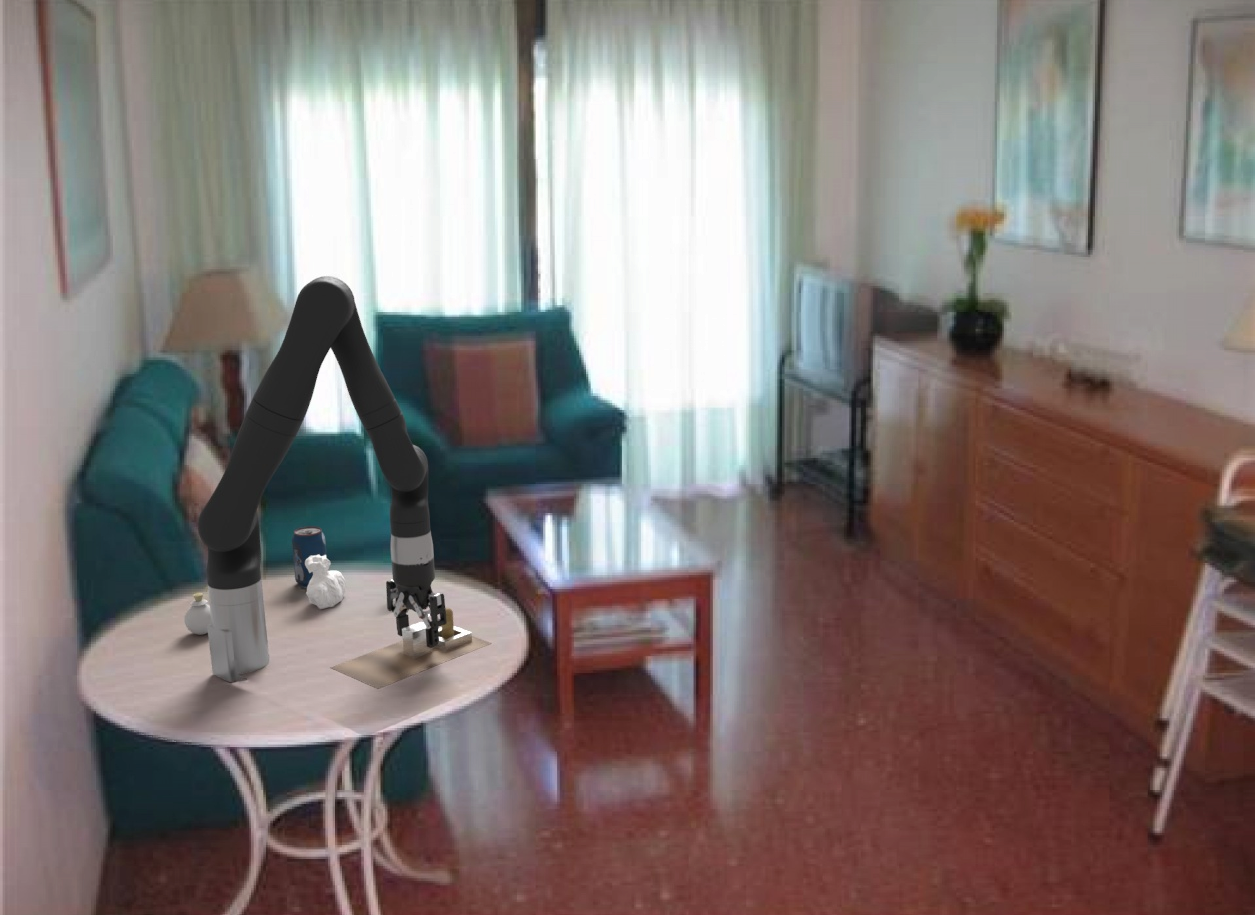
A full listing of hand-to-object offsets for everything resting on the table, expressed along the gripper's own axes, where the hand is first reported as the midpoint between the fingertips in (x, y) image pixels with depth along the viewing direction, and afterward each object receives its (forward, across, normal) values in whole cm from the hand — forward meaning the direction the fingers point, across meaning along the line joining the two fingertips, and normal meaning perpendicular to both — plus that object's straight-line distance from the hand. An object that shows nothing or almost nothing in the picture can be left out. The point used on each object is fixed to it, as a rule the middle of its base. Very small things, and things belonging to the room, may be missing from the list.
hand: (418, 640), depth 236 cm
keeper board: (+4, 0, -2) cm, 4 cm away
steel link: (+2, 0, +4) cm, 5 cm away
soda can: (+4, -51, +12) cm, 52 cm away
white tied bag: (+4, -39, +6) cm, 40 cm away
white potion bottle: (+4, -43, -18) cm, 47 cm away
